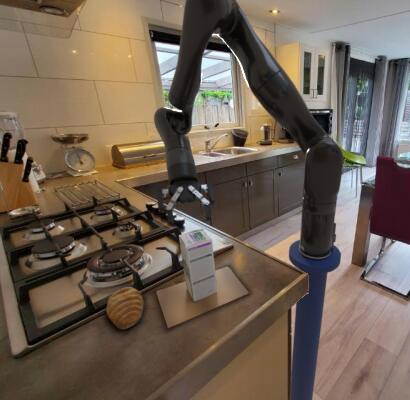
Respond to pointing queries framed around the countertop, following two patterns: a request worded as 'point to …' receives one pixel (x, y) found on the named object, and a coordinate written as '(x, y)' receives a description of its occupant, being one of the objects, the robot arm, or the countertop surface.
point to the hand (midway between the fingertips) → (191, 222)
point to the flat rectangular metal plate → (187, 309)
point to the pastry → (125, 307)
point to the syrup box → (198, 264)
